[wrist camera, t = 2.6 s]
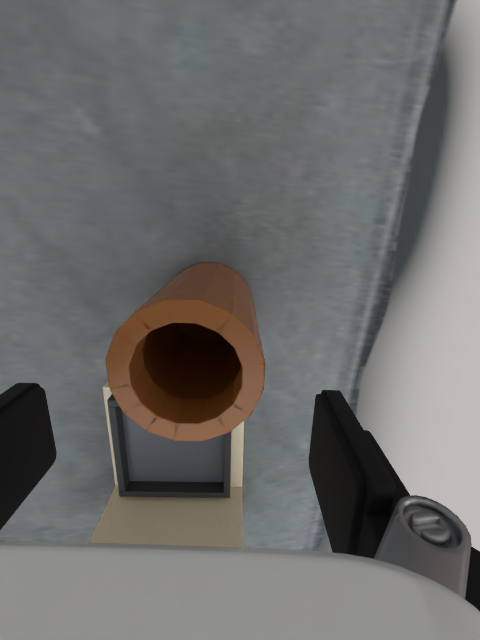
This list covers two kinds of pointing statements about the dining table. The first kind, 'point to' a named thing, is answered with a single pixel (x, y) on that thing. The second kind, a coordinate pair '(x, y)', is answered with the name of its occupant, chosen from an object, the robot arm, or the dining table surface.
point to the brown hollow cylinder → (190, 357)
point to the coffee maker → (171, 487)
